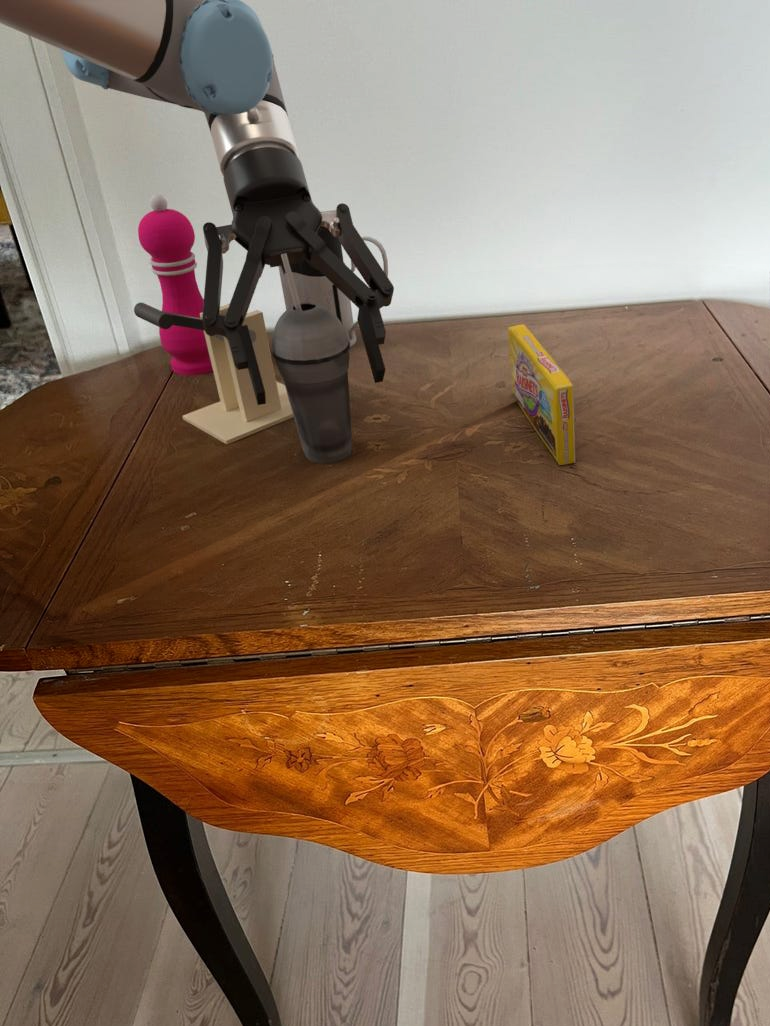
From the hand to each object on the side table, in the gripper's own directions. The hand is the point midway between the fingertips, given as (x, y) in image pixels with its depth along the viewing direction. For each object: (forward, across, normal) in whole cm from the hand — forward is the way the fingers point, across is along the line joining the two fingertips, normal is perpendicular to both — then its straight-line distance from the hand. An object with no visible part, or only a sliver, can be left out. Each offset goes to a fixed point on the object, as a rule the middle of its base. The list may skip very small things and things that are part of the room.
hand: (321, 387), depth 88 cm
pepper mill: (-16, -10, +29) cm, 35 cm away
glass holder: (-15, +8, +28) cm, 33 cm away
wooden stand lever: (-11, -10, +9) cm, 17 cm away
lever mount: (-5, -6, +17) cm, 19 cm away
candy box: (+6, +22, +6) cm, 24 cm away
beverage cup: (+4, 0, +8) cm, 10 cm away
